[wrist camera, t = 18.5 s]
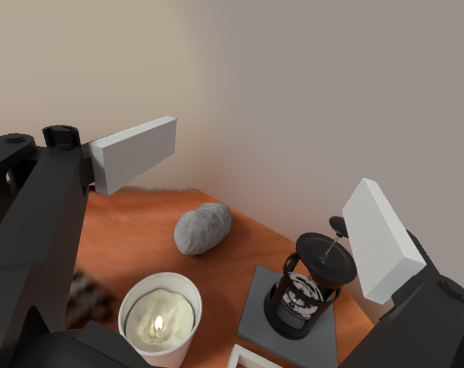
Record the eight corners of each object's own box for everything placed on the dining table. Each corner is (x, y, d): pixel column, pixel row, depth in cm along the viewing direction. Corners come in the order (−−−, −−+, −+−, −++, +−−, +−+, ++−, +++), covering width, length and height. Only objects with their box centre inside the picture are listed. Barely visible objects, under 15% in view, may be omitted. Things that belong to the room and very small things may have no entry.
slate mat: (336, 385, 33) (339, 383, 33) (236, 335, 36) (237, 332, 36) (330, 299, 46) (332, 297, 45) (256, 267, 49) (257, 264, 48)
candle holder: (142, 308, 37) (141, 265, 30) (198, 320, 37) (208, 279, 31) (109, 383, 28) (98, 345, 22) (181, 397, 29) (191, 363, 22)
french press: (271, 346, 35) (336, 256, 23) (253, 291, 42) (295, 202, 30) (328, 333, 39) (410, 251, 26) (303, 285, 46) (358, 203, 34)
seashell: (219, 211, 62) (225, 183, 57) (245, 249, 53) (256, 219, 47) (163, 223, 54) (165, 191, 49) (183, 270, 44) (187, 237, 39)
